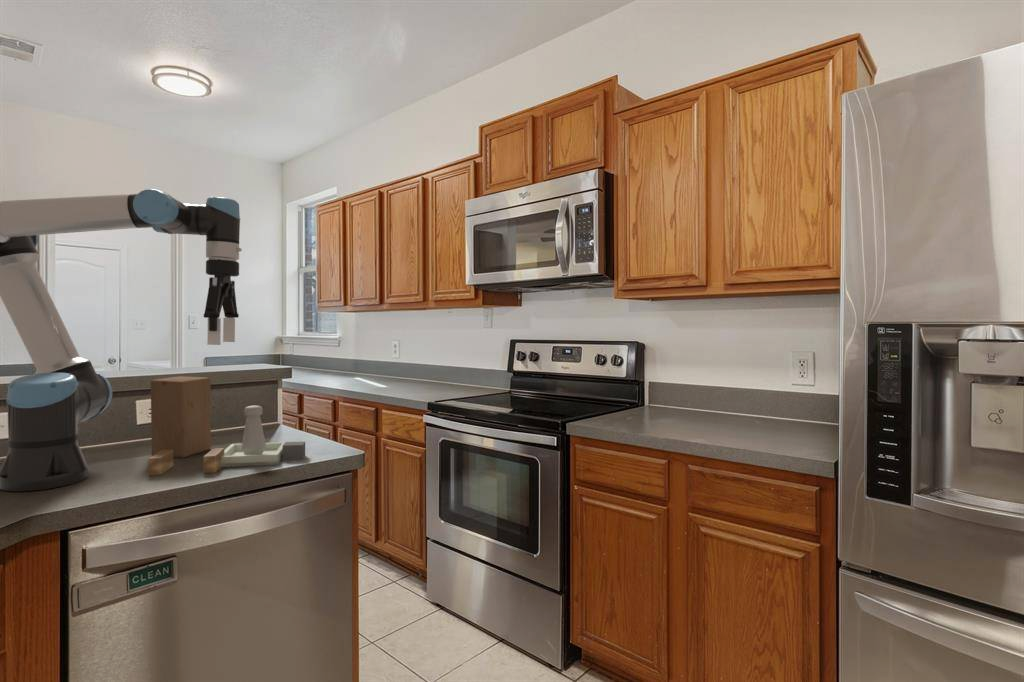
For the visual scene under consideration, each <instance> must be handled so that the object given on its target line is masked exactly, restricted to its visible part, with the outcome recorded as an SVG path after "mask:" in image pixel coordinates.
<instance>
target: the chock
mask: <svg viewBox="0 0 1024 682" xmlns="http://www.w3.org/2000/svg"><path fill="white" fill-rule="evenodd" d="M284 442H285V441H284ZM305 457H306V441H286V442H285V443H284V444H283V458H282V461H303V460H304V459H305Z"/></svg>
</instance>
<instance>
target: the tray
mask: <svg viewBox="0 0 1024 682" xmlns="http://www.w3.org/2000/svg"><path fill="white" fill-rule="evenodd" d="M265 443H266V448H265V450H264V452H263V454H259V455H244V453H243V450H242V443H231V444H229V446H227V447H226V448H224V455H223V456H222V457H221V468H226V467H227V468H230V467H231V466H232V467H249V466H250V467H251V466H254V467H255V466H275V465H276V466H277V465H279V464H280V462H281V460H283V444H284V443H285V441H281V442H279V441H277V442H265Z"/></svg>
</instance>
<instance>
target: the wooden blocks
mask: <svg viewBox="0 0 1024 682" xmlns="http://www.w3.org/2000/svg"><path fill="white" fill-rule="evenodd" d="M224 450H225V447H221V448H220V447H215V448H212V449H210V451H208V452H207V453H206V454H204V456H203V474H210V473H211V474H216V472H218V470H220V469H221V468H222V467H221V457H222V456H223V455H224ZM173 466H174V457H173V450H161V451H160V452H158V453H157V454H155V455H151V456H150V457H149V458H148V476H162V475H164V473H166V472H167V471H168V470H170V469H172V468H173Z"/></svg>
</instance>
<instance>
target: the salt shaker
mask: <svg viewBox="0 0 1024 682" xmlns="http://www.w3.org/2000/svg"><path fill="white" fill-rule="evenodd" d="M243 413H244V415H245V416H246V420H245V424H244V431H243V435H242V436H243V437H242V443H241V444H242V450H243V453H244V455H259V454H263V452H264V450H265V448H266V443H267V442H266V439H265V435H264V430H263V424H262V419H261V415H263V407H262V406H261V405H249V406H245V408H244V412H243Z"/></svg>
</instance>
